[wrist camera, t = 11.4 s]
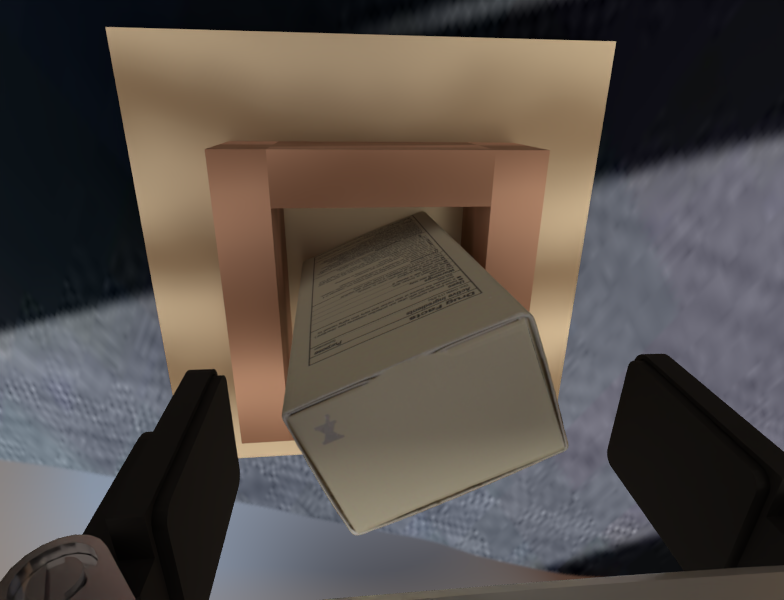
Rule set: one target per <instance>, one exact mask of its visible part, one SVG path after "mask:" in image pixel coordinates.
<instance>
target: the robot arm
mask: <svg viewBox="0 0 784 600" xmlns="http://www.w3.org/2000/svg"><path fill="white" fill-rule="evenodd" d="M607 456H608V461H609V463H610V465H611V467H612V468H613V470H614V471H615V473H616V474H617V476H618V477H619V478H620V480H621V481H622V483H623V484H624V486H625V487H626V488H627V490H628V491H629V493H630V494H631V496H632V497H633V498H634V500H635V501H636V503H637V504H638V506H639V507H640V508H641V510H642V511H643V513H644V514H645V516H646V517H647V518H648V520H649V521H650V523H651V524H652V526H653V527H654V528H655V530H656V531H657V533H658V534H659V536H660V537H661V538H662V540H663V541H664V543H665V544H666V546H667V547H668V548H669V550H670V551H671V553H672V554H673V556H674V557H675V558H676V560H677V561H678V563H679V564H680V566H681V567H682V568H683V570H684V572H670V573H655V574H641V575H627V576H613V577H600V578H586V579H573V580H560V581H547V582H533V583H521V584H508V585H495V586H482V587H469V588H457V589H445V590H432V591H421V592H408V593H396V594H384V595H372V596H360V597H348V598H337V599H336V598H335V599H325V600H784V452H783V451H782V450H781V449H780V448H779V447H777V446H776V445H775V444H774V443H773V442H771V441H770V440H769V439H768V438H767V437H765V436H764V435H763V434H762V433H761V432H759V431H758V430H757V429H756V428H755V427H753V426H752V425H751V424H750V423H749V422H747V421H746V420H745V419H744V418H743V417H741V416H740V415H739V414H738V413H737V412H735V411H734V410H733V409H732V408H731V407H729V406H728V405H727V404H726V403H725V402H723V401H722V400H721V399H720V398H719V397H717V396H716V395H715V394H714V393H713V392H711V391H710V390H709V389H708V388H707V387H705V386H704V385H703V384H702V383H701V382H699V381H698V380H697V379H696V378H695V377H693V376H692V375H691V374H690V373H689V372H687V371H686V370H685V369H684V368H683V367H681V366H680V365H679V364H678V363H677V362H675V361H674V360H673V359H672V358H671V357H669V356H668V355H666V354H641V355H638V356H637V357H636V358H635V361H632V362H630V364H629V366H628V369H627V373H626V377H625V381H624V385H623V389H622V393H621V397H620V401H619V405H618V409H617V413H616V417H615V421H614V425H613V429H612V433H611V437H610V441H609V445H608V450H607ZM239 480H240V469H239V462H238V455H237V448H236V441H235V434H234V427H233V420H232V413H231V406H230V400H229V393H228V386H227V380H226V377H225V375H218V374H217V371H216V370H215V369H199V370H187V372H186V373H185V375H184V377H183V378H182V380H181V382H180V384H179V386H178V388H177V389H176V391H175V393H174V395H173V397H172V398H171V400H170V402H169V404H168V406H167V408H166V409H165V411H164V413H163V415H162V417H161V418H160V420H159V422H158V424H157V426H156V427H155V429H154V431H153V432H145V433H143V434H142V435H141V436H140V437H139V439H138V440H137V442H136V443H135V445H134V447H133V449H132V450H131V452H130V454H129V455H128V457H127V459H126V461H125V462H124V464H123V466H122V467H121V469H120V471H119V473H118V474H117V476H116V478H115V480H114V481H113V483H112V485H111V486H110V488H109V490H108V492H107V493H106V495H105V497H104V498H103V500H102V502H101V504H100V505H99V507H98V509H97V511H96V512H95V514H94V516H93V517H92V519H91V521H90V523H89V524H88V526H87V528H86V529H85V531H84V533H83V534H82V535H71V536H67V537H62V538H58V539H56V540H53V541H51V542H49V543H46V544H44V545H42V546H40V547H39V548H37V549H35V550H33V551H32V552H30V553H29V554H27V555H25V556H24V557H23V558H22V559H21V560H20V561H19V562H17V563H16V564H15V565H14V566H13V567H12V568H11V569H10V570H9V571H8V572H7V574H6V575H5V576H4V578H3V579H2V580H1V581H0V600H209V597H210V593H211V589H212V586H213V582H214V578H215V574H216V570H217V566H218V563H219V559H220V555H221V551H222V548H223V543H224V540H225V536H226V532H227V529H228V525H229V521H230V517H231V513H232V509H233V506H234V502H235V498H236V494H237V491H238V487H239Z"/></svg>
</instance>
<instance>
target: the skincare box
mask: <svg viewBox="0 0 784 600" xmlns="http://www.w3.org/2000/svg"><path fill="white" fill-rule="evenodd" d="M282 419H283V421H284V423H285V425H286V426H287V428H288V430H289V432H290V433H291V435H292V437H293V439H294V441H295V442H296V444H297V446H298V448H299V449H300V451H301V452H302V454H303V456H304V458H305V460H306V462H307V464H308V465H309V467H310V469H311V470H312V472H313V473H314V475H315V477H316V479H317V480H318V482H319V484H320V486H321V487H322V489H323V491H324V492H325V494H326V495H327V497H328V499H329V500H330V502H331V503H332V505H333V507H334V508H335V510H336V511H337V513H338V514H339V516H340V517H341V518H342V519H343V521H344V523H345V524H346V526H347V527H348V529H349V530H350V531H351V533H352V534H353V535H362V534H365V533H367V532H369V531H372V530H375V529H378V528H381V527H383V526H386V525H389V524H391V523H394V522H397V521H400V520H402V519H404V518H407V517H410V516H412V515H415V514H417V513H420V512H423V511H425V510H427V509H429V508H432V507H435V506H437V505H440V504H442V503H444V502H446V501H449V500H452V499H454V498H457V497H459V496H462V495H464V494H466V493H468V492H471V491H473V490H476V489H478V488H480V487H483V486H485V485H487V484H490V483H492V482H495V481H497V480H499V479H501V478H504V477H507V476H509V475H511V474H514V473H516V472H518V471H520V470H522V469H524V468H527V467H529V466H532V465H534V464H536V463H538V462H540V461H542V460H545V459H547V458H549V457H552V456H554V455H557V454H559V453H561V452H564V451H565V450H567V449H568V441H567V437H566V434H565V430H564V426H563V421H562V417H561V413H560V409H559V405H558V400H557V397H556V392H555V389H554V384H553V382H552V378H551V374H550V371H549V366H548V362H547V358H546V355H545V352H544V348H543V345H542V342H541V338H540V335H539V331H538V328H537V324H536V321H535V318H534V316H533V315H532V314H531V313H530V312H529V311H527V310H526V309H525V308H524V307H523V306H522V305H521V304H520V303H519V302H518V301H517V300H516V299H515V298H514V297H513V296H512V295H511V294H510V293H509V292H508V291H507V290H506V289H505V288H504V287H503V286H502V285H500V284H499V283H498V282H497V281H496V280H495V279H494V278H493V277H492V276H491V275H490V274H489V273H488V272H487V271H486V270H485V269H484V268H483V267H482V266H481V265H480V264H479V263H478V262H477V261H475V260H474V259H473V258H472V257H471V256H470V255H469V254H468V253H467V252H466V251H465V250H464V249H463V248H462V247H461V246H460V245H459V244H458V243H457V242H456V241H455V240H454V239H453V238H452V237H451V236H450V235H449V234H448V233H447V232H445V231H444V230H443V229H442V228H441V227H440V226H439V225H438V224H437V223H436V222H435V221H434V220H433V219H432V218H431V217H430V216H429V215H428V214H427V213H426V212H423V211H421V212H418V213H415V214H413V215H410V216H408V217H405V218H402V219H400V220H397V221H395V222H392V223H390V224H387V225H385V226H382V227H380V228H378V229H375V230H373V231H370V232H368V233H366V234H364V235H361V236H359V237H357V238H354V239H352V240H350V241H347V242H345V243H343V244H341V245H338V246H336V247H334V248H332V249H329V250H327V251H325V252H323V253H321V254H319V255H317V256H315V257H313V258H310V259H308V260H306V261H304V262H303V265H302V272H301V280H300V288H299V294H298V302H297V309H296V316H295V324H294V330H293V338H292V345H291V351H290V360H289V367H288V374H287V381H286V389H285V395H284V403H283V409H282Z"/></svg>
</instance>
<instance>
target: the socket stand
mask: <svg viewBox="0 0 784 600" xmlns="http://www.w3.org/2000/svg"><path fill="white" fill-rule="evenodd" d="M106 33H107V38H108V44H109V49H110V55H111V60H112V66H113V71H114V77H115V82H116V87H117V93H118V98H119V104H120V109H121V115H122V120H123V126H124V131H125V137H126V142H127V148H128V153H129V159H130V164H131V169H132V175H133V180H134V186H135V191H136V197H137V202H138V208H139V213H140V219H141V224H142V230H143V235H144V241H145V246H146V251H147V257H148V262H149V268H150V273H151V279H152V284H153V290H154V295H155V301H156V306H157V312H158V317H159V322H160V328H161V333H162V339H163V344H164V350H165V355H166V361H167V366H168V372H169V377H170V383H171V388H172V394H173V395H174V393H175V391H176V389H177V388H178V386H179V384H180V382H181V380H182V378H183V377H184V375H185V373H186V372H187V370H199V369H215V370H216V371H217V374H218V375H225V377H226V380H227V386H228V393H229V400H230V406H231V413H232V420H233V427H234V434H235V441H236V448H237V455H238V458H250V457H266V456H282V455H298V454H302V452H301V451H300V449H299V448H298V446H297V444H296V442H295V441H294V439H293V437H292V435H291V433H290V432H289V430H288V428H287V426H286V425H285V423H284V421H283V419H282V409H283V403H284V395H285V389H286V381H287V374H288V367H289V360H290V351H291V345H292V338H293V330H294V324H295V316H296V309H297V302H298V294H299V288H300V280H301V272H302V265H303V262H304V261H306V260H308V259H310V258H313V257H315V256H317V255H319V254H321V253H323V252H325V251H327V250H329V249H332V248H334V247H336V246H338V245H341V244H343V243H345V242H347V241H350V240H352V239H354V238H357V237H359V236H361V235H364V234H366V233H368V232H370V231H373V230H375V229H378V228H380V227H382V226H385V225H387V224H390V223H392V222H395V221H397V220H400V219H402V218H405V217H408V216H410V215H413V214H415V213H418V212H421V211H423V212H426V213H427V214H428V215H429V216H430V217H431V218H432V219H433V220H434V221H435V222H436V223H437V224H438V225H439V226H440V227H441V228H442V229H443V230H444V231H445V232H447V233H448V234H449V235H450V236H451V237H452V238H453V239H454V240H455V241H456V242H457V243H458V244H459V245H460V246H461V247H462V248H463V249H464V250H465V251H466V252H467V253H468V254H469V255H470V256H471V257H472V258H473V259H474V260H475V261H477V262H478V263H479V264H480V265H481V266H482V267H483V268H484V269H485V270H486V271H487V272H488V273H489V274H490V275H491V276H492V277H493V278H494V279H495V280H496V281H497V282H498V283H499V284H500V285H502V286H503V287H504V288H505V289H506V290H507V291H508V292H509V293H510V294H511V295H512V296H513V297H514V298H515V299H516V300H517V301H518V302H519V303H520V304H521V305H522V306H523V307H524V308H525V309H526V310H527V311H529V312H530V313H531V314H532V315H533V316H534V318H535V321H536V324H537V328H538V331H539V335H540V338H541V342H542V345H543V348H544V352H545V355H546V358H547V362H548V366H549V371H550V374H551V378H552V382H553V384H554V389H555V392H556V397H557V400H558V394H559V388H560V382H561V376H562V370H563V364H564V358H565V352H566V345H567V339H568V333H569V327H570V321H571V315H572V309H573V303H574V296H575V290H576V284H577V278H578V272H579V266H580V260H581V254H582V247H583V241H584V235H585V229H586V223H587V217H588V211H589V205H590V198H591V192H592V186H593V180H594V174H595V168H596V162H597V156H598V149H599V143H600V137H601V131H602V125H603V119H604V113H605V107H606V101H607V94H608V88H609V82H610V76H611V70H612V64H613V58H614V52H615V45H616V42H615V41H580V40H545V39H509V38H474V37H439V36H404V35H369V34H333V33H298V32H263V31H228V30H192V29H157V28H122V27H106Z"/></svg>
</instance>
